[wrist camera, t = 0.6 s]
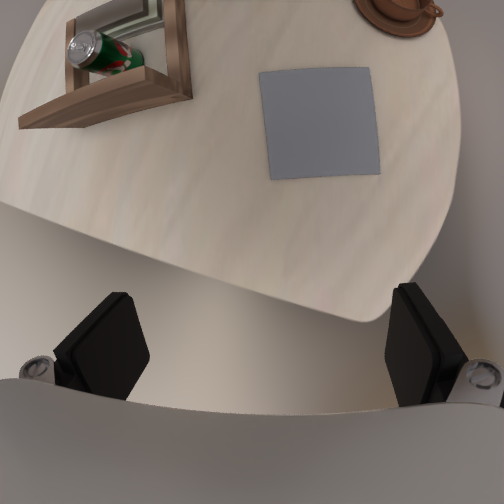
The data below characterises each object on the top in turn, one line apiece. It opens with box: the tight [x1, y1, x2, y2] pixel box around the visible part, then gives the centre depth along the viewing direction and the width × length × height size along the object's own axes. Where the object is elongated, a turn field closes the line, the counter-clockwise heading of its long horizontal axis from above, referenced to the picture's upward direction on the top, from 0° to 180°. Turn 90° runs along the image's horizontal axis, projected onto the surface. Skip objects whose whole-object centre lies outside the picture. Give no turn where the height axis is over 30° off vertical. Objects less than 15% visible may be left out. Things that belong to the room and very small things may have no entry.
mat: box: [259, 67, 380, 180], centre depth 36 cm, size 14×14×1 cm
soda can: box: [67, 30, 143, 77], centre depth 31 cm, size 5×5×12 cm
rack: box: [18, 0, 193, 129], centre depth 29 cm, size 18×18×14 cm
